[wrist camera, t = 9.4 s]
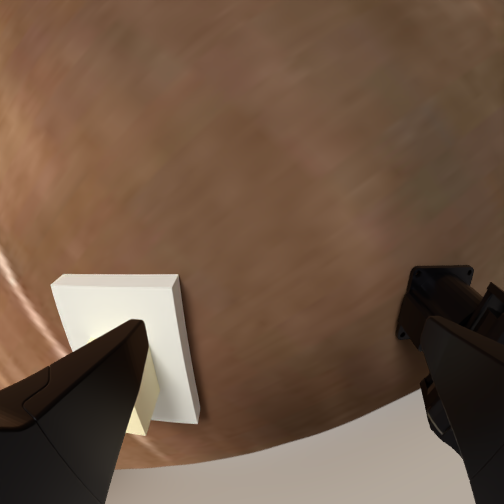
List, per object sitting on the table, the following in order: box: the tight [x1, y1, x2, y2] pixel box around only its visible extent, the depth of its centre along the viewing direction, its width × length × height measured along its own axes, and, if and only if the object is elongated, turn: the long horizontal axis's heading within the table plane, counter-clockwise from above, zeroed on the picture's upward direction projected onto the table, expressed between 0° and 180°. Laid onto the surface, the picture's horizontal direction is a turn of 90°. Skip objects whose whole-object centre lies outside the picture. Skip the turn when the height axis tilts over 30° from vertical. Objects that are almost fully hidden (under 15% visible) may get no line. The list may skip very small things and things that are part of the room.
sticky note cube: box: [87, 337, 160, 436], centre depth 20 cm, size 5×5×5 cm
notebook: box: [51, 274, 200, 424], centre depth 23 cm, size 10×14×2 cm
